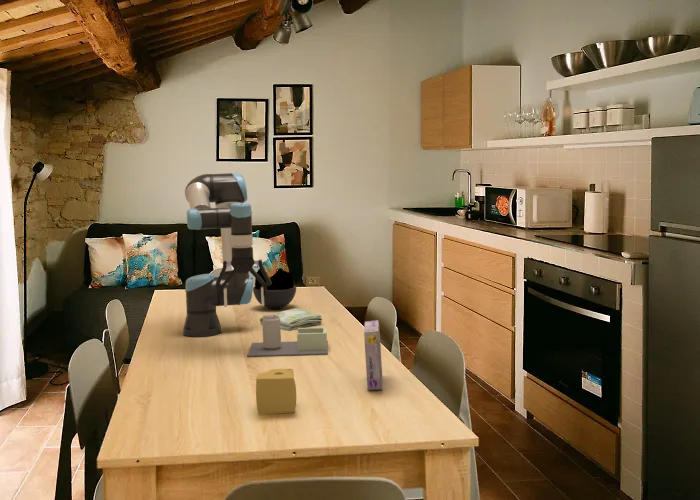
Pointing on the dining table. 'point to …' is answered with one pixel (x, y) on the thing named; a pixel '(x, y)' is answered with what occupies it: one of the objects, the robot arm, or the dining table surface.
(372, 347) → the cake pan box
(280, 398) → the cheese
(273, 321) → the beverage can
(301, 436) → the dining table surface
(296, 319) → the towel
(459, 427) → the dining table surface
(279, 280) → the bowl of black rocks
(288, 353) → the mount
